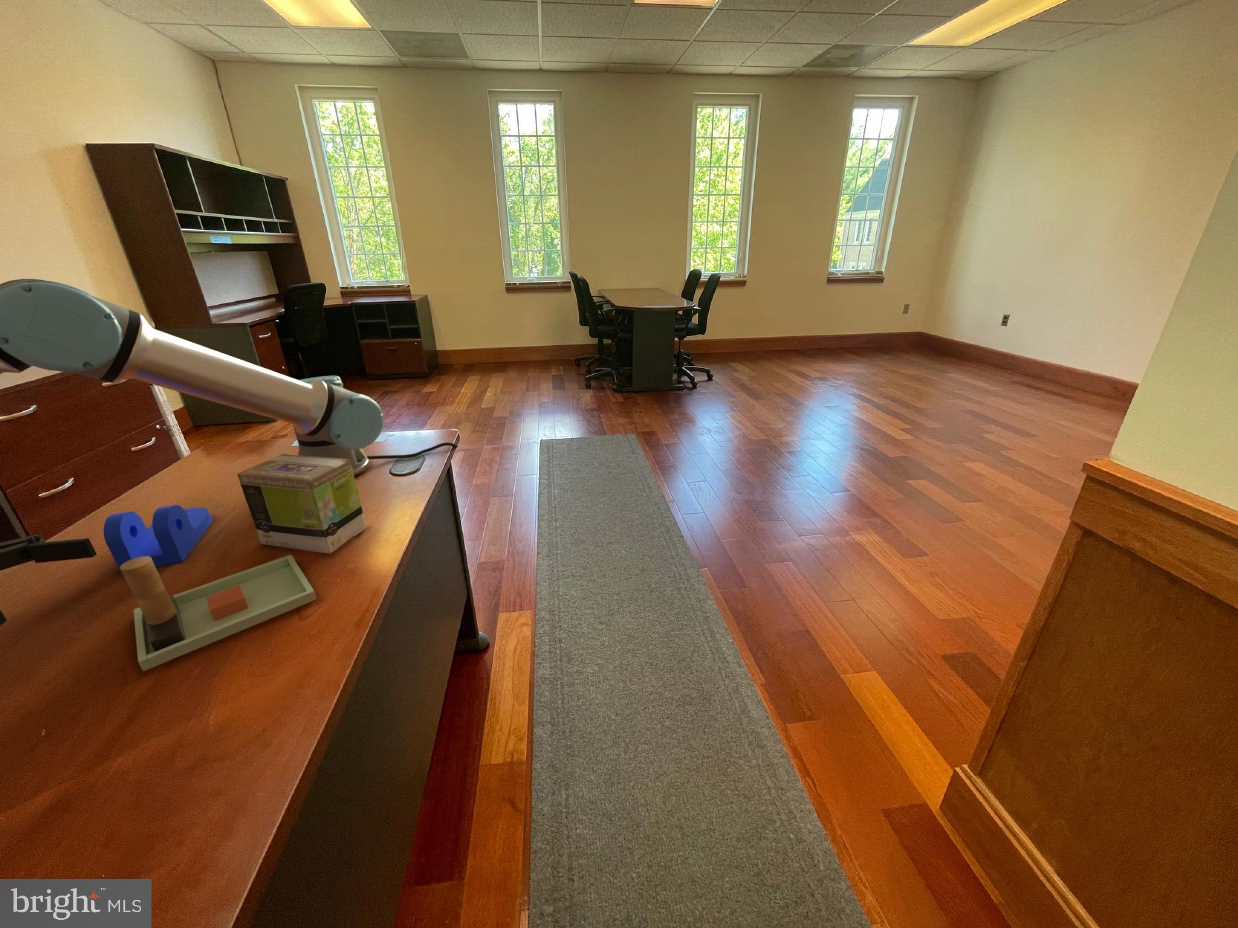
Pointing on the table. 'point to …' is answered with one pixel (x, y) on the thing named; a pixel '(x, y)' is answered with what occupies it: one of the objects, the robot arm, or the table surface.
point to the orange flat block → (226, 603)
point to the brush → (154, 602)
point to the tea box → (303, 502)
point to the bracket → (156, 534)
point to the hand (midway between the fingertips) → (49, 577)
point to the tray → (266, 598)
